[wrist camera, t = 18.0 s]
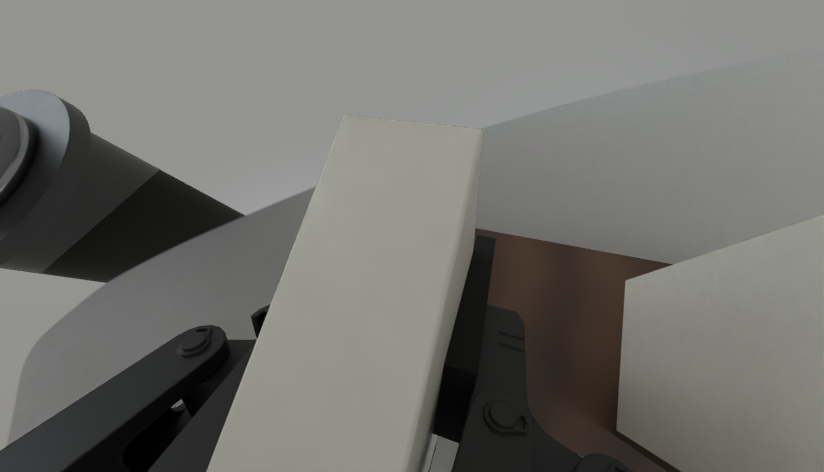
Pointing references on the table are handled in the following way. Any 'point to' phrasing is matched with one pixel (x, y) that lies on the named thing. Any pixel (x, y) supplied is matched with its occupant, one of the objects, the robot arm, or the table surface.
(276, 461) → the white book
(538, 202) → the table surface
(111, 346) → the table surface
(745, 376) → the white book
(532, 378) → the shelf board
